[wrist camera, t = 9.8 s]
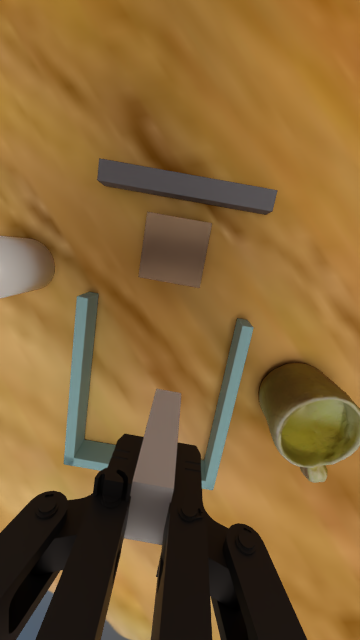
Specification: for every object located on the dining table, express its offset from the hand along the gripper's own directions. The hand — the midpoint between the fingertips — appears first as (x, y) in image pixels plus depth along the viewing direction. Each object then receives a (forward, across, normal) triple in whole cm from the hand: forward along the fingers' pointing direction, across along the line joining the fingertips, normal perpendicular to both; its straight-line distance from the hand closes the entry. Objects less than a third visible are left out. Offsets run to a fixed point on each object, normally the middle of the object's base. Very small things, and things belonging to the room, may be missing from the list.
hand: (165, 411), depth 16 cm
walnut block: (+18, -2, +9) cm, 20 cm away
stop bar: (+18, -2, +15) cm, 24 cm away
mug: (+18, +16, -8) cm, 25 cm away
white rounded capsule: (+18, -19, +4) cm, 26 cm away
